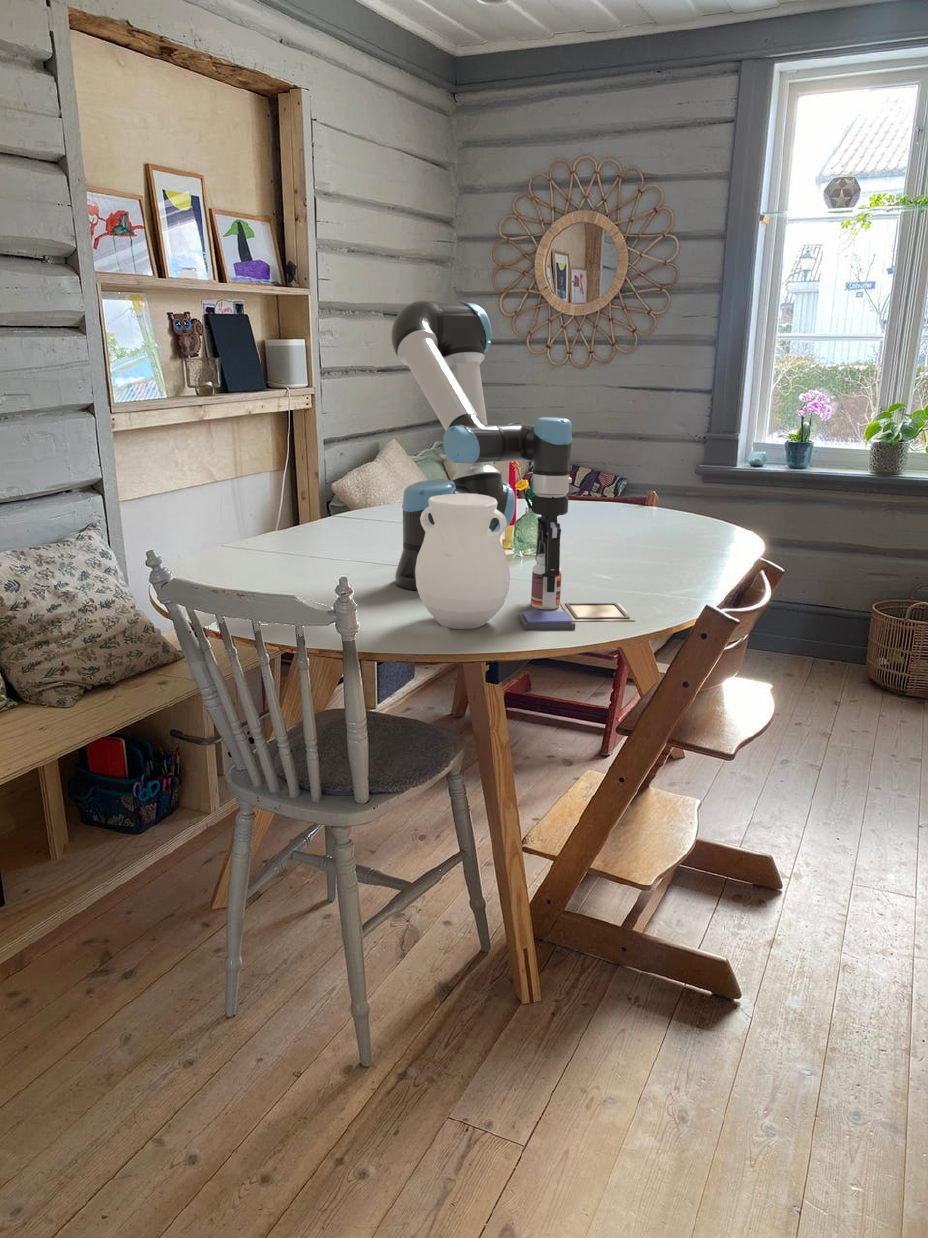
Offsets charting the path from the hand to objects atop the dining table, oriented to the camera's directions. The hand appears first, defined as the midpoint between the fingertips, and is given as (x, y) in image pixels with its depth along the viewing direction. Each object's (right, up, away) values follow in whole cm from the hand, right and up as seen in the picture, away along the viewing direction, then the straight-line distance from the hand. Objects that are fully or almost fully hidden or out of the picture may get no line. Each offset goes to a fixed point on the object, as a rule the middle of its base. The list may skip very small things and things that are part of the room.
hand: (545, 600), depth 202 cm
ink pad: (-1, -5, -12) cm, 13 cm away
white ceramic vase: (-18, -5, -13) cm, 23 cm away
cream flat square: (+10, -2, -4) cm, 11 cm away
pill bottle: (0, -1, 0) cm, 1 cm away
